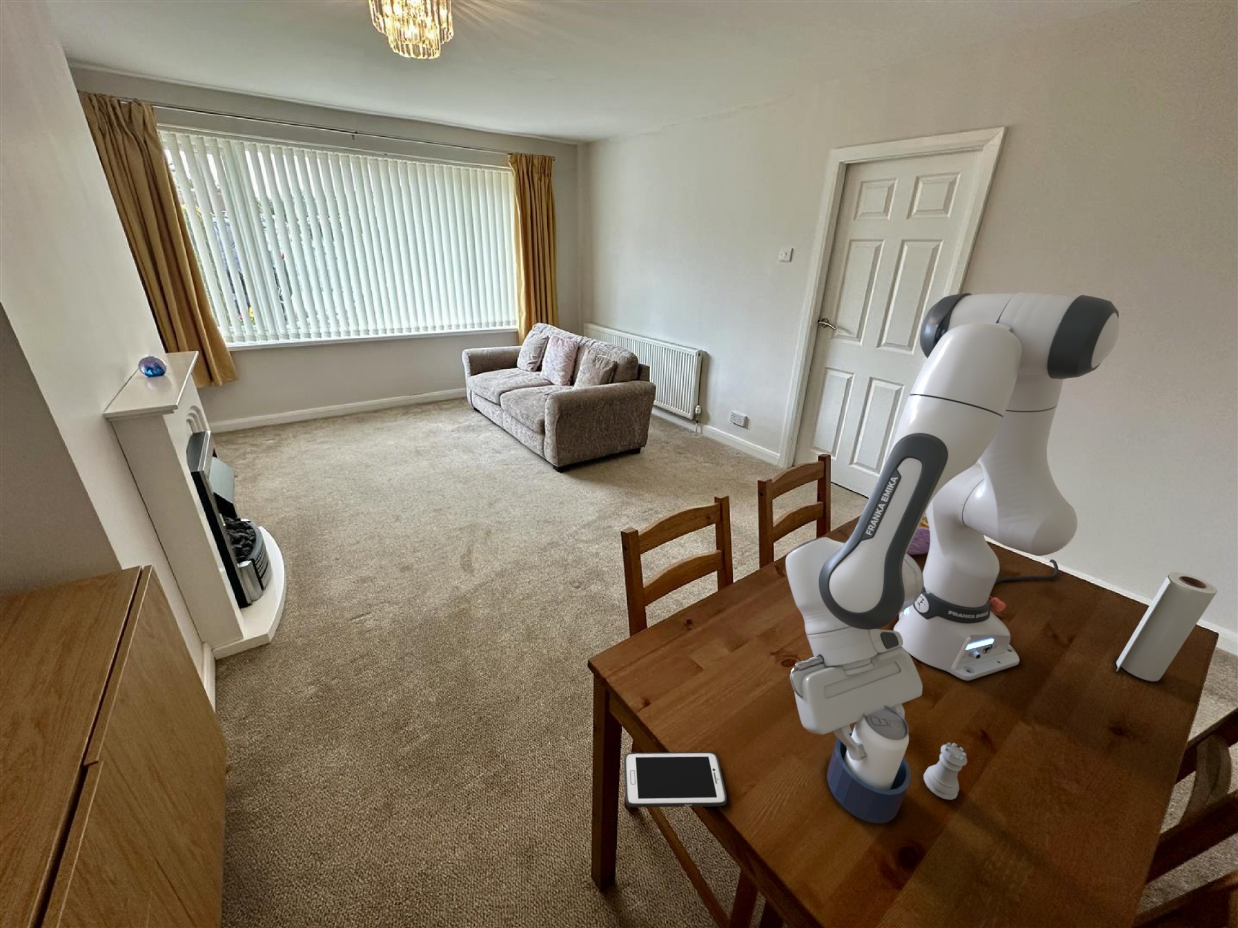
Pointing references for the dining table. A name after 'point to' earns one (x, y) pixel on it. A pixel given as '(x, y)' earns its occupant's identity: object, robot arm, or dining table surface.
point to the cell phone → (673, 780)
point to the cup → (865, 789)
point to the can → (879, 747)
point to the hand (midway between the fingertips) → (880, 749)
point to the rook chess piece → (946, 772)
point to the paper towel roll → (1166, 625)
